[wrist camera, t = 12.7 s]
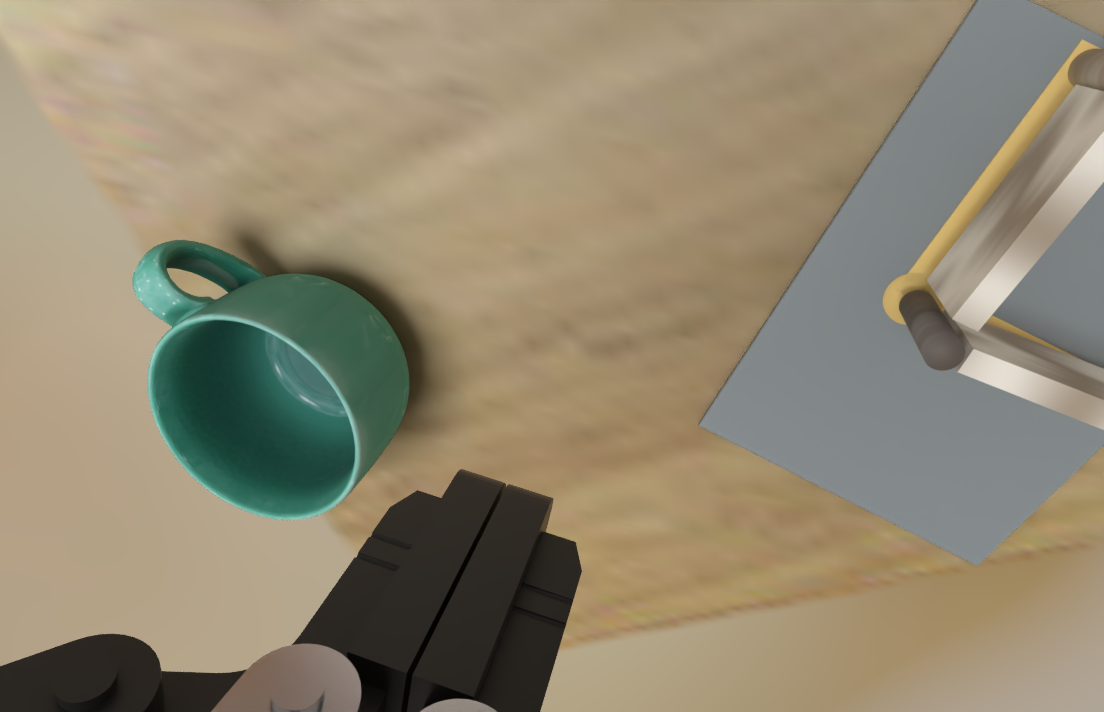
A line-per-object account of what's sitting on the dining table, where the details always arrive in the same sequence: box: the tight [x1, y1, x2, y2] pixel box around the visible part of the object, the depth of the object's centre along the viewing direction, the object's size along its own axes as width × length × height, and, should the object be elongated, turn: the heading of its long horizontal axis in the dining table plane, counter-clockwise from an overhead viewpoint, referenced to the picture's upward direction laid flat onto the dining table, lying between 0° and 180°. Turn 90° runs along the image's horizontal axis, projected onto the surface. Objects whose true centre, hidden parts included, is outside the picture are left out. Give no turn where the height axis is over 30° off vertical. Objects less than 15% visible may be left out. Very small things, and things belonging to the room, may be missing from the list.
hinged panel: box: [899, 290, 1104, 430], centre depth 33 cm, size 13×2×6 cm, turn 72°
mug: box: [133, 240, 409, 520], centre depth 42 cm, size 17×12×10 cm
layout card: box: [699, 0, 1104, 566], centre depth 36 cm, size 25×18×1 cm
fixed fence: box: [927, 48, 1104, 332], centre depth 30 cm, size 11×2×7 cm, turn 157°
